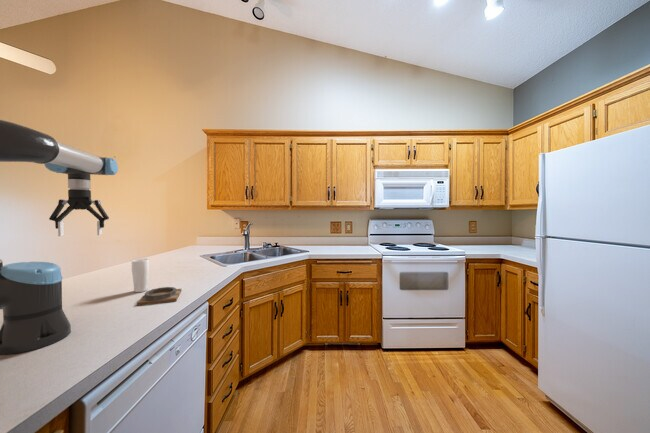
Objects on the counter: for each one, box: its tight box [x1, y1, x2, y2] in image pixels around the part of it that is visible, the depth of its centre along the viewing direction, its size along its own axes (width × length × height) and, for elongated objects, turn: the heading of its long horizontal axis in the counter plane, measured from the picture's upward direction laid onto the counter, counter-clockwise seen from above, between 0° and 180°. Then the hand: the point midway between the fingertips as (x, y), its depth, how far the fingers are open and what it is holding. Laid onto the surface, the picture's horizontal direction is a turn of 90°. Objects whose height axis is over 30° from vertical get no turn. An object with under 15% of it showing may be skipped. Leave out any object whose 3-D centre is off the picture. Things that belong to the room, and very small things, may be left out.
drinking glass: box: [131, 258, 150, 293], centre depth 121 cm, size 7×7×15 cm
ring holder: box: [136, 286, 182, 307], centre depth 112 cm, size 14×14×3 cm
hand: (80, 235), depth 116 cm, fingers open, 13 cm apart
